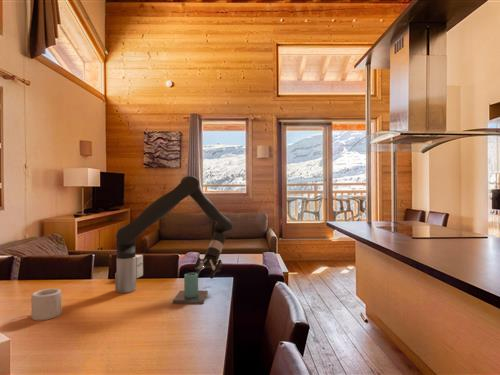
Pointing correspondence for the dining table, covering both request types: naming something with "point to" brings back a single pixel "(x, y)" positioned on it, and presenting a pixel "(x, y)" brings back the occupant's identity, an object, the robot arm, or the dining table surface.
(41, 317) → the mug
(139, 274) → the supplement box
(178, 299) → the post base
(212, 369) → the dining table surface
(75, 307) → the dining table surface
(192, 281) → the sleeve
